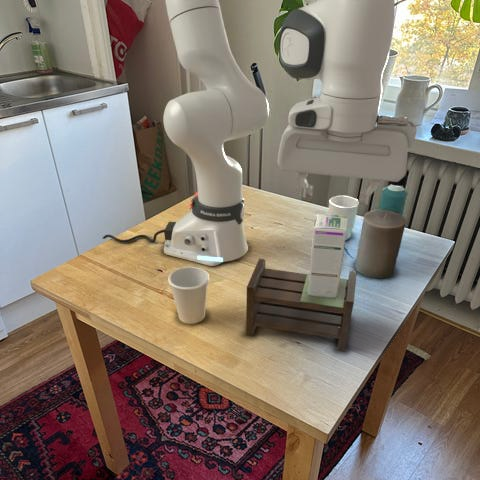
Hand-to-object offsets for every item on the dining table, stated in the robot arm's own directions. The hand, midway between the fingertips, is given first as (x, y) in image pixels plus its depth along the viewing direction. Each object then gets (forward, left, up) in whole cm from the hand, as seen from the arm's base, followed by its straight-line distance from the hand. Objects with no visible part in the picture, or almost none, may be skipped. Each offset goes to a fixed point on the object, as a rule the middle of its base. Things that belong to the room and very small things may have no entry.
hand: (335, 200), depth 77 cm
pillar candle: (+11, +28, -29) cm, 42 cm away
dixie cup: (-27, -2, -29) cm, 39 cm away
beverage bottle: (+13, +40, -29) cm, 51 cm away
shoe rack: (-4, 0, -29) cm, 29 cm away
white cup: (+1, +44, -29) cm, 53 cm away
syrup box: (0, 0, -19) cm, 19 cm away
